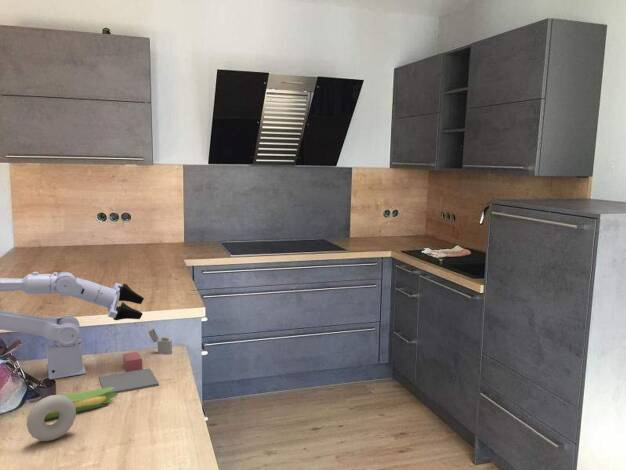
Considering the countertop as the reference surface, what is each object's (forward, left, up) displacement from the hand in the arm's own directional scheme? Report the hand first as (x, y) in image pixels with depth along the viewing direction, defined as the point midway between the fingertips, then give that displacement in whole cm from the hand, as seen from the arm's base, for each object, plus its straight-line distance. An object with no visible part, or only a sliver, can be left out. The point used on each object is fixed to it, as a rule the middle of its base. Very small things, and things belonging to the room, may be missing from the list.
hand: (141, 308), depth 156 cm
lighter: (+6, +5, -17) cm, 19 cm away
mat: (-7, -14, -17) cm, 23 cm away
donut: (-27, -38, -17) cm, 49 cm away
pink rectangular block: (-4, -3, -17) cm, 18 cm away
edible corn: (-20, -25, -17) cm, 37 cm away
